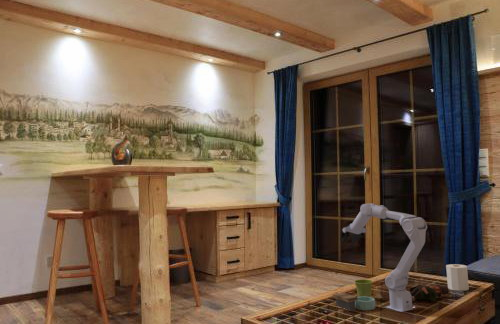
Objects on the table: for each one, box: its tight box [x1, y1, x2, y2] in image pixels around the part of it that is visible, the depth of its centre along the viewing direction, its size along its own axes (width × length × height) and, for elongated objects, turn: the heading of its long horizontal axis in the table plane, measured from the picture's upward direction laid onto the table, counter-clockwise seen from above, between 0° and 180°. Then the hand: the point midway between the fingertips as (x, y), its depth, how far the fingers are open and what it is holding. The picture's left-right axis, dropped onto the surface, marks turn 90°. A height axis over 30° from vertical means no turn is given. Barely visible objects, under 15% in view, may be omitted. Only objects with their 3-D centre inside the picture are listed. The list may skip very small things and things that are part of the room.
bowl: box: [355, 296, 376, 311], centre depth 194 cm, size 9×9×4 cm
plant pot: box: [353, 278, 374, 297], centre depth 210 cm, size 9×9×9 cm
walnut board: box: [332, 291, 358, 303], centre depth 193 cm, size 11×6×2 cm, turn 28°
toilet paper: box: [445, 263, 470, 292], centre depth 220 cm, size 10×10×12 cm
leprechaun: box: [409, 284, 450, 303], centre depth 203 cm, size 11×10×25 cm
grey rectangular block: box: [335, 298, 356, 312], centre depth 193 cm, size 10×3×4 cm, turn 28°
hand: (346, 241), depth 215 cm, fingers open, 7 cm apart
